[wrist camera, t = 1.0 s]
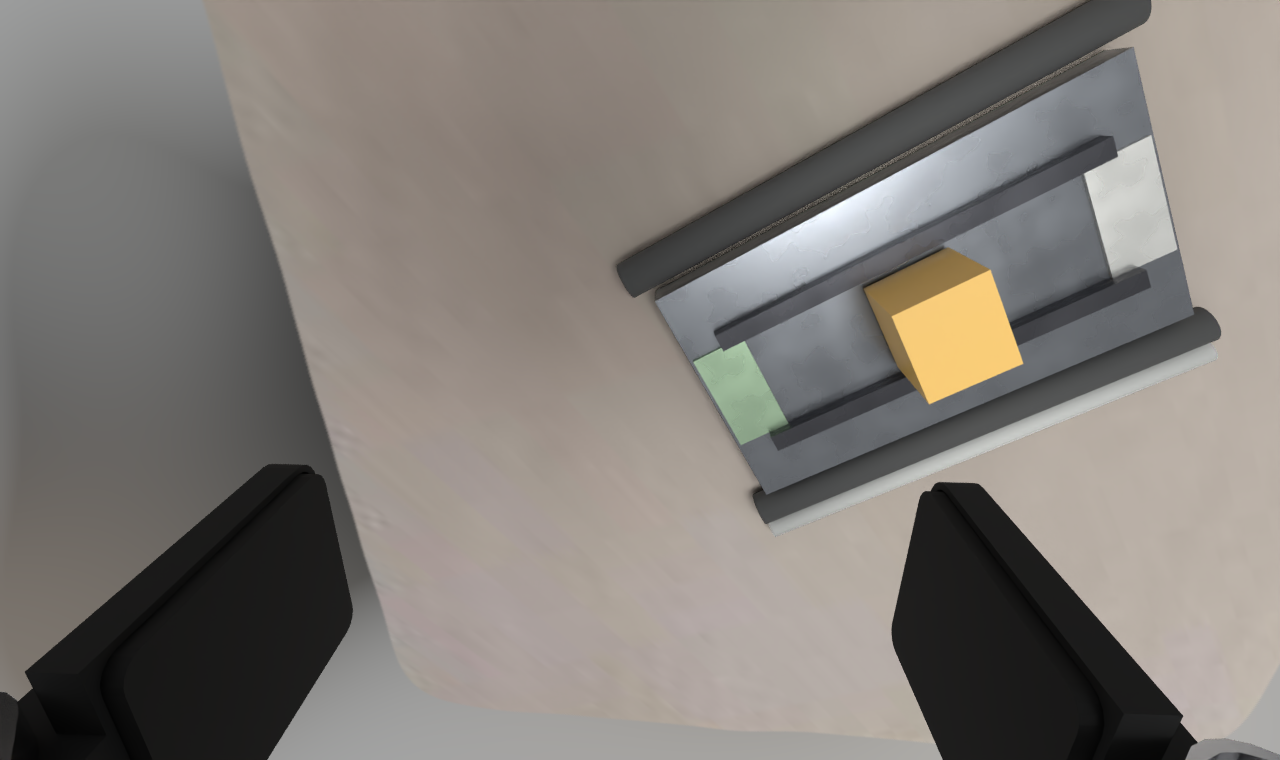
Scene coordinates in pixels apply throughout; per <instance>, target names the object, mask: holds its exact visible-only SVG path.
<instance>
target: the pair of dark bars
mask: <svg viewBox="0 0 1280 760" xmlns="http://www.w3.org/2000/svg"><path fill="white" fill-rule="evenodd" d="M1150 13H1151V0H1091V1H1089V2H1087V3H1085V4H1084V5H1082V6H1080V7H1078V8H1077V9H1075V10H1073V11H1071V12H1069V13H1068V14H1066V15H1064V16H1062V17H1060V18H1059V19H1057V20H1055V21H1053V22H1051V23H1050V24H1048V25H1046V26H1044V27H1042V28H1041V29H1039V30H1037V31H1035V32H1034V33H1032V34H1030V35H1028V36H1026V37H1025V38H1023V39H1021V40H1019V41H1017V42H1016V43H1014V44H1012V45H1010V46H1008V47H1007V48H1005V49H1003V50H1001V51H999V52H998V53H996V54H994V55H992V56H990V57H989V58H987V59H985V60H983V61H982V62H980V63H978V64H976V65H974V66H973V67H971V68H969V69H967V70H965V71H964V72H962V73H960V74H958V75H956V76H955V77H953V78H951V79H949V80H947V81H946V82H944V83H942V84H940V85H939V86H937V87H935V88H933V89H931V90H930V91H928V92H926V93H924V94H922V95H921V96H919V97H917V98H915V99H913V100H912V101H910V102H908V103H906V104H904V105H903V106H901V107H899V108H897V109H896V110H894V111H892V112H890V113H888V114H887V115H885V116H883V117H881V118H879V119H878V120H876V121H874V122H872V123H870V124H869V125H867V126H865V127H863V128H861V129H860V130H858V131H856V132H854V133H852V134H851V135H849V136H847V137H845V138H844V139H842V140H840V141H838V142H836V143H835V144H833V145H831V146H829V147H827V148H826V149H824V150H822V151H820V152H818V153H817V154H815V155H813V156H811V157H809V158H808V159H806V160H804V161H802V162H801V163H799V164H797V165H795V166H793V167H792V168H790V169H788V170H786V171H784V172H783V173H781V174H779V175H777V176H775V177H774V178H772V179H770V180H768V181H766V182H765V183H763V184H761V185H759V186H757V187H756V188H754V189H752V190H750V191H749V192H747V193H745V194H743V195H741V196H740V197H738V198H736V199H734V200H732V201H731V202H729V203H727V204H725V205H723V206H722V207H720V208H718V209H716V210H714V211H713V212H711V213H709V214H707V215H706V216H704V217H702V218H700V219H698V220H697V221H695V222H693V223H691V224H689V225H688V226H686V227H684V228H682V229H680V230H679V231H677V232H675V233H673V234H671V235H670V236H668V237H666V238H664V239H663V240H661V241H659V242H657V243H655V244H654V245H652V246H650V247H648V248H646V249H645V250H643V251H641V252H639V253H637V254H636V255H634V256H632V257H630V258H628V259H627V260H625V261H623V262H621V263H619V264H618V265H617V271H618V274H619V276H620V278H621V281H622V282H623V284H624V286H625V288H626V289H627V291H628V292H629V294H630V295H631V296H632V297H634V298H635V297H637V296H638V295H640V294H642V293H644V292H646V291H648V290H650V289H651V288H653V287H655V286H657V285H659V284H661V283H663V282H664V281H666V280H668V279H670V278H672V277H674V276H676V275H678V274H679V273H681V272H683V271H685V270H687V269H689V268H691V267H692V266H694V265H696V264H698V263H700V262H702V261H704V260H705V259H707V258H709V257H711V256H713V255H715V254H717V253H718V252H720V251H722V250H724V249H726V248H728V247H730V246H731V245H733V244H735V243H737V242H739V241H741V240H743V239H744V238H746V237H748V236H750V235H752V234H754V233H756V232H757V231H759V230H761V229H763V228H765V227H767V226H769V225H770V224H772V223H774V222H776V221H778V220H780V219H782V218H783V217H785V216H787V215H789V214H791V213H793V212H795V211H796V210H798V209H800V208H802V207H804V206H806V205H808V204H809V203H811V202H813V201H815V200H817V199H819V198H821V197H822V196H824V195H826V194H828V193H830V192H832V191H834V190H835V189H837V188H839V187H841V186H843V185H845V184H847V183H848V182H850V181H852V180H854V179H856V178H858V177H860V176H861V175H863V174H865V173H867V172H869V171H871V170H873V169H874V168H876V167H878V166H880V165H882V164H884V163H886V162H887V161H889V160H891V159H893V158H895V157H897V156H899V155H900V154H902V153H904V152H906V151H908V150H910V149H912V148H913V147H915V146H917V145H919V144H921V143H923V142H925V141H926V140H928V139H930V138H932V137H934V136H936V135H938V134H939V133H941V132H943V131H945V130H947V129H949V128H951V127H952V126H954V125H956V124H958V123H960V122H962V121H964V120H965V119H967V118H969V117H971V116H973V115H975V114H977V113H978V112H980V111H982V110H984V109H986V108H988V107H990V106H991V105H993V104H995V103H997V102H999V101H1001V100H1003V99H1004V98H1006V97H1008V96H1010V95H1012V94H1014V93H1016V92H1017V91H1019V90H1021V89H1023V88H1025V87H1027V86H1029V85H1030V84H1032V83H1034V82H1036V81H1038V80H1040V79H1042V78H1043V77H1045V76H1047V75H1049V74H1051V73H1053V72H1055V71H1056V70H1058V69H1060V68H1062V67H1064V66H1066V65H1068V64H1069V63H1071V62H1073V61H1075V60H1077V59H1079V58H1081V57H1082V56H1084V55H1086V54H1088V53H1090V52H1092V51H1094V50H1095V49H1097V48H1099V47H1101V46H1103V45H1105V44H1107V43H1108V42H1110V41H1112V40H1114V39H1116V38H1118V37H1120V36H1122V35H1123V34H1125V33H1127V32H1129V31H1131V30H1133V29H1135V28H1136V27H1138V26H1140V25H1142V24H1144V23H1145V22H1146V21H1147V20H1148V18H1149V16H1150ZM1193 311H1194V315H1192V316H1190V317H1187V318H1185V319H1182V320H1180V321H1178V322H1175V323H1173V324H1171V325H1168V326H1166V327H1163V328H1161V329H1159V330H1156V331H1154V332H1152V333H1149V334H1147V335H1144V336H1142V337H1140V338H1137V339H1135V340H1133V341H1130V342H1128V343H1125V344H1123V345H1121V346H1118V347H1116V348H1114V349H1111V350H1109V351H1106V352H1104V353H1102V354H1099V355H1097V356H1095V357H1092V358H1090V359H1088V360H1085V361H1083V362H1080V363H1078V364H1076V365H1073V366H1071V367H1069V368H1066V369H1064V370H1061V371H1059V372H1057V373H1054V374H1052V375H1050V376H1047V377H1045V378H1042V379H1040V380H1038V381H1035V382H1033V383H1031V384H1028V385H1026V386H1023V387H1021V388H1019V389H1016V390H1014V391H1012V392H1009V393H1007V394H1004V395H1002V396H1000V397H997V398H995V399H993V400H990V401H988V402H985V403H983V404H981V405H978V406H976V407H974V408H971V409H969V410H966V411H964V412H962V413H959V414H957V415H955V416H952V417H950V418H948V419H945V420H943V421H940V422H938V423H936V424H933V425H931V426H929V427H926V428H924V429H921V430H919V431H917V432H914V433H912V434H910V435H907V436H905V437H902V438H900V439H898V440H895V441H893V442H891V443H888V444H886V445H883V446H881V447H879V448H876V449H874V450H872V451H869V452H867V453H864V454H862V455H860V456H857V457H855V458H853V459H850V460H848V461H845V462H843V463H841V464H838V465H836V466H834V467H831V468H829V469H826V470H824V471H822V472H819V473H817V474H815V475H812V476H810V477H807V478H805V479H803V480H800V481H798V482H796V483H793V484H791V485H789V486H786V487H784V488H781V489H779V490H777V491H774V492H772V493H770V494H767V495H766V493H765V491H764V490H762V491H760V492H758V493H755V494H753V499H754V502H755V505H756V508H757V510H758V512H759V514H760V516H761V518H762V520H763V521H764V523H765V524H768V525H769V527H770V529H771V531H772V533H773V535H774V536H775V537H776V536H779V535H781V534H784V533H786V532H789V531H791V530H794V529H796V528H799V527H801V526H804V525H806V524H809V523H811V522H814V521H816V520H819V519H821V518H824V517H826V516H829V515H831V514H834V513H836V512H838V511H841V510H843V509H846V508H848V507H851V506H853V505H856V504H858V503H861V502H863V501H866V500H868V499H871V498H873V497H876V496H878V495H881V494H883V493H886V492H888V491H891V490H893V489H896V488H898V487H901V486H903V485H906V484H908V483H911V482H913V481H916V480H918V479H921V478H923V477H926V476H928V475H931V474H933V473H936V472H938V471H941V470H943V469H946V468H948V467H951V466H953V465H956V464H958V463H961V462H963V461H966V460H968V459H970V458H973V457H975V456H978V455H980V454H983V453H985V452H988V451H990V450H993V449H995V448H998V447H1000V446H1003V445H1005V444H1008V443H1010V442H1013V441H1015V440H1018V439H1020V438H1023V437H1025V436H1028V435H1030V434H1033V433H1035V432H1038V431H1040V430H1043V429H1045V428H1048V427H1050V426H1053V425H1055V424H1058V423H1060V422H1063V421H1065V420H1068V419H1070V418H1073V417H1075V416H1078V415H1080V414H1083V413H1085V412H1088V411H1090V410H1093V409H1095V408H1098V407H1100V406H1102V405H1105V404H1107V403H1110V402H1112V401H1115V400H1117V399H1120V398H1122V397H1125V396H1127V395H1130V394H1132V393H1135V392H1137V391H1140V390H1142V389H1145V388H1147V387H1150V386H1152V385H1155V384H1157V383H1160V382H1162V381H1165V380H1167V379H1170V378H1172V377H1175V376H1177V375H1180V374H1182V373H1185V372H1187V371H1190V370H1192V369H1195V368H1197V367H1200V366H1202V365H1205V364H1207V363H1210V362H1212V361H1215V360H1216V359H1217V358H1218V354H1217V351H1216V349H1215V347H1214V346H1213V345H1212V343H1211V342H1213V341H1216V340H1218V339H1219V338H1220V336H1221V329H1220V326H1219V324H1218V322H1217V320H1216V319H1215V318H1214V316H1213V315H1212V314H1211V313H1210V312H1208V311H1207V310H1205V309H1204V308H1201V307H1194V308H1193Z"/></svg>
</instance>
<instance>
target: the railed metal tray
mask: <svg viewBox="0 0 1280 760" xmlns="http://www.w3.org/2000/svg"><path fill="white" fill-rule="evenodd" d="M947 247H949V248H951V249H953V250H955V251H956V252H958V253H960V254H962V255H964V256H966V257H968V258H970V259H971V260H973V261H975V262H977V263H979V264H981V265H983V266H985V267H986V268H988V269H990V270H991V273H992V275H993V278H994V281H995V284H996V287H997V290H998V293H999V295H1000V298H1001V301H1002V304H1003V307H1004V310H1005V312H1006V315H1007V318H1008V321H1009V324H1010V327H1011V330H1012V332H1013V335H1014V338H1015V341H1016V344H1017V347H1018V350H1019V352H1020V355H1021V358H1022V361H1023V364H1022V365H1019V366H1017V367H1015V368H1012V369H1010V370H1008V371H1005V372H1003V373H1001V374H998V375H996V376H994V377H991V378H989V379H987V380H984V381H982V382H980V383H977V384H975V385H973V386H970V387H968V388H966V389H963V390H961V391H959V392H956V393H954V394H952V395H950V396H947V397H945V398H943V399H940V400H938V401H936V402H933V403H931V404H928V402H927V401H926V400H925V399H924V398H923V396H922V395H921V394H920V393H919V392H918V391H917V389H916V388H915V387H914V386H913V385H912V383H911V382H910V381H909V380H908V379H907V377H906V376H905V375H904V374H903V373H902V372H901V370H900V369H899V368H898V367H897V364H896V362H895V360H894V357H893V355H892V353H891V351H890V348H889V346H888V344H887V341H886V339H885V337H884V335H883V332H882V330H881V328H880V325H879V323H878V321H877V318H876V316H875V314H874V312H873V309H872V307H871V305H870V302H869V300H868V298H867V296H866V293H865V291H864V288H866V287H868V286H870V285H872V284H874V283H876V282H878V281H880V280H882V279H884V278H886V277H888V276H890V275H892V274H894V273H896V272H898V271H900V270H902V269H904V268H906V267H908V266H910V265H912V264H915V263H917V262H919V261H921V260H923V259H925V258H927V257H929V256H931V255H933V254H935V253H937V252H939V251H941V250H943V249H945V248H947ZM655 302H656V304H657V306H658V308H659V309H660V311H661V313H662V315H663V316H664V318H665V320H666V322H667V323H668V325H669V327H670V328H671V330H672V332H673V334H674V335H675V337H676V339H677V341H678V342H679V344H680V346H681V348H682V349H683V351H684V353H685V354H686V356H687V358H688V360H689V361H690V363H691V365H692V367H693V368H694V370H695V372H696V374H697V375H698V377H699V379H700V380H701V382H702V384H703V386H704V387H705V389H706V391H707V393H708V394H709V396H710V398H711V400H712V401H713V403H714V405H715V407H716V408H717V410H718V412H719V413H720V415H721V417H722V419H723V420H724V422H725V424H726V426H727V427H728V429H729V431H730V433H731V434H732V436H733V438H734V439H735V441H736V443H737V445H738V446H739V448H740V450H741V452H742V453H743V455H744V457H745V459H746V460H747V462H748V464H749V465H750V467H751V469H752V471H753V472H754V474H755V476H756V478H757V479H758V481H759V483H760V485H761V486H762V488H763V490H764V491H765V493H766V495H767V494H770V493H772V492H774V491H777V490H779V489H781V488H784V487H786V486H789V485H791V484H793V483H796V482H798V481H800V480H803V479H805V478H807V477H810V476H812V475H815V474H817V473H819V472H822V471H824V470H826V469H829V468H831V467H834V466H836V465H838V464H841V463H843V462H845V461H848V460H850V459H853V458H855V457H857V456H860V455H862V454H864V453H867V452H869V451H872V450H874V449H876V448H879V447H881V446H883V445H886V444H888V443H891V442H893V441H895V440H898V439H900V438H902V437H905V436H907V435H910V434H912V433H914V432H917V431H919V430H921V429H924V428H926V427H929V426H931V425H933V424H936V423H938V422H940V421H943V420H945V419H948V418H950V417H952V416H955V415H957V414H959V413H962V412H964V411H966V410H969V409H971V408H974V407H976V406H978V405H981V404H983V403H985V402H988V401H990V400H993V399H995V398H997V397H1000V396H1002V395H1004V394H1007V393H1009V392H1012V391H1014V390H1016V389H1019V388H1021V387H1023V386H1026V385H1028V384H1031V383H1033V382H1035V381H1038V380H1040V379H1042V378H1045V377H1047V376H1050V375H1052V374H1054V373H1057V372H1059V371H1061V370H1064V369H1066V368H1069V367H1071V366H1073V365H1076V364H1078V363H1080V362H1083V361H1085V360H1088V359H1090V358H1092V357H1095V356H1097V355H1099V354H1102V353H1104V352H1106V351H1109V350H1111V349H1114V348H1116V347H1118V346H1121V345H1123V344H1125V343H1128V342H1130V341H1133V340H1135V339H1137V338H1140V337H1142V336H1144V335H1147V334H1149V333H1152V332H1154V331H1156V330H1159V329H1161V328H1163V327H1166V326H1168V325H1171V324H1173V323H1175V322H1178V321H1180V320H1182V319H1185V318H1187V317H1190V316H1192V315H1194V311H1193V307H1192V303H1191V298H1190V294H1189V289H1188V285H1187V280H1186V276H1185V272H1184V267H1183V263H1182V258H1181V254H1180V250H1179V245H1178V241H1177V236H1176V232H1175V228H1174V223H1173V219H1172V214H1171V210H1170V206H1169V201H1168V197H1167V192H1166V188H1165V184H1164V179H1163V175H1162V170H1161V166H1160V162H1159V157H1158V153H1157V148H1156V144H1155V140H1154V135H1153V131H1152V126H1151V122H1150V118H1149V113H1148V109H1147V104H1146V100H1145V96H1144V91H1143V87H1142V82H1141V78H1140V73H1139V69H1138V65H1137V60H1136V56H1135V51H1134V47H1130V48H1121V49H1112V50H1104V51H1102V52H1101V53H1099V54H1097V55H1095V56H1093V57H1091V58H1089V59H1087V60H1086V61H1084V62H1082V63H1080V64H1078V65H1076V66H1074V67H1073V68H1071V69H1069V70H1067V71H1065V72H1063V73H1061V74H1059V75H1058V76H1056V77H1054V78H1052V79H1050V80H1048V81H1046V82H1045V83H1043V84H1041V85H1039V86H1037V87H1035V88H1033V89H1032V90H1030V91H1028V92H1026V93H1024V94H1022V95H1020V96H1018V97H1017V98H1015V99H1013V100H1011V101H1009V102H1007V103H1005V104H1004V105H1002V106H1000V107H998V108H996V109H994V110H992V111H990V112H989V113H987V114H985V115H983V116H981V117H979V118H977V119H976V120H974V121H972V122H970V123H968V124H966V125H964V126H963V127H961V128H959V129H957V130H955V131H953V132H951V133H949V134H948V135H946V136H944V137H942V138H940V139H938V140H936V141H935V142H933V143H931V144H929V145H927V146H925V147H923V148H921V149H920V150H918V151H916V152H914V153H912V154H910V155H908V156H907V157H905V158H903V159H901V160H899V161H897V162H895V163H893V164H892V165H890V166H888V167H886V168H884V169H882V170H880V171H879V172H877V173H875V174H873V175H871V176H869V177H867V178H866V179H864V180H862V181H860V182H858V183H856V184H854V185H852V186H851V187H849V188H847V189H845V190H843V191H841V192H839V193H838V194H836V195H834V196H832V197H830V198H828V199H826V200H824V201H823V202H821V203H819V204H817V205H815V206H813V207H811V208H810V209H808V210H806V211H804V212H802V213H800V214H798V215H796V216H795V217H793V218H791V219H789V220H787V221H785V222H783V223H782V224H780V225H778V226H776V227H774V228H772V229H770V230H769V231H767V232H765V233H763V234H761V235H759V236H757V237H755V238H754V239H752V240H750V241H748V242H746V243H744V244H742V245H741V246H739V247H737V248H735V249H733V250H731V251H729V252H727V253H726V254H724V255H722V256H720V257H718V258H716V259H714V260H713V261H711V262H709V263H707V264H705V265H703V266H701V267H700V268H698V269H696V270H694V271H692V272H690V273H688V274H686V275H685V276H683V277H681V278H679V279H677V280H675V281H673V282H672V283H670V284H668V285H666V286H664V287H662V288H660V289H658V290H657V291H656V295H655Z"/></svg>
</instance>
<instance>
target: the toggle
mask: <svg viewBox="0 0 1280 760" xmlns="http://www.w3.org/2000/svg"><path fill="white" fill-rule="evenodd" d="M864 291H865V293H866V296H867V298H868V300H869V302H870V305H871V307H872V309H873V312H874V314H875V316H876V318H877V321H878V323H879V325H880V328H881V330H882V332H883V335H884V337H885V339H886V341H887V344H888V346H889V348H890V351H891V353H892V355H893V357H894V360H895V362H896V364H897V367H898V368H899V369H900V370H901V372H902V373H903V374H904V375H905V376H906V377H907V379H908V380H909V381H910V382H911V383H912V385H913V386H914V387H915V388H916V389H917V391H918V392H919V393H920V394H921V395H922V396H923V398H924V399H925V400H926V401H927V402H928V404H931V403H933V402H936V401H938V400H940V399H943V398H945V397H947V396H950V395H952V394H954V393H956V392H959V391H961V390H963V389H966V388H968V387H970V386H973V385H975V384H977V383H980V382H982V381H984V380H987V379H989V378H991V377H994V376H996V375H998V374H1001V373H1003V372H1005V371H1008V370H1010V369H1012V368H1015V367H1017V366H1019V365H1022V364H1023V361H1022V358H1021V355H1020V352H1019V350H1018V347H1017V344H1016V341H1015V338H1014V335H1013V332H1012V330H1011V327H1010V324H1009V321H1008V318H1007V315H1006V312H1005V310H1004V307H1003V304H1002V301H1001V298H1000V295H999V293H998V290H997V287H996V284H995V281H994V278H993V275H992V273H991V270H990V269H988V268H986V267H985V266H983V265H981V264H979V263H977V262H975V261H973V260H971V259H970V258H968V257H966V256H964V255H962V254H960V253H958V252H956V251H955V250H953V249H951V248H949V247H947V248H945V249H943V250H941V251H939V252H937V253H935V254H933V255H931V256H929V257H927V258H925V259H923V260H921V261H919V262H917V263H915V264H912V265H910V266H908V267H906V268H904V269H902V270H900V271H898V272H896V273H894V274H892V275H890V276H888V277H886V278H884V279H882V280H880V281H878V282H876V283H874V284H872V285H870V286H868V287H866V288H864Z"/></svg>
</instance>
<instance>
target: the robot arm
mask: <svg viewBox="0 0 1280 760" xmlns="http://www.w3.org/2000/svg"><path fill="white" fill-rule="evenodd" d="M352 613H353V608H352V602H351V597H350V593H349V588H348V584H347V579H346V574H345V570H344V566H343V561H342V556H341V552H340V548H339V543H338V538H337V533H336V529H335V525H334V520H333V515H332V511H331V506H330V502H329V497H328V493H327V488H326V483H325V481H324V479H323V478H322V476H321V475H318V474H315V472H314V470H313V469H312V468H311V467H309V466H308V465H291V464H290V465H289V464H269V465H267V466H265V467H263V468H262V469H261V470H260V471H259V472H258V473H256V474H255V475H254V476H253V477H252V478H250V479H249V480H248V481H247V482H246V483H245V484H243V485H242V486H241V487H240V488H239V489H238V490H236V491H235V492H234V493H233V494H232V495H231V496H229V497H228V498H227V499H226V500H225V501H224V502H222V503H221V504H220V505H219V506H218V507H217V508H215V509H214V510H213V511H212V512H211V513H210V514H208V515H207V516H206V517H205V518H204V519H203V520H201V521H200V522H199V523H198V524H197V525H196V526H194V527H193V528H192V529H191V530H190V531H189V532H187V533H186V534H185V535H184V536H183V537H182V538H181V539H179V540H178V541H177V542H176V543H175V544H173V545H172V546H171V547H170V548H169V549H168V550H166V551H165V552H164V553H163V554H162V555H161V556H159V557H158V558H157V559H156V560H155V561H154V562H153V563H151V564H150V565H149V566H148V567H147V568H145V569H144V570H143V571H142V572H141V573H140V574H138V575H137V576H136V577H135V578H134V579H133V580H131V581H130V582H129V583H128V584H127V585H126V586H124V587H123V588H122V589H121V590H120V591H119V592H117V593H116V594H115V595H114V596H113V597H112V598H110V599H109V600H108V601H107V602H106V603H105V604H103V605H102V606H101V607H100V608H99V609H98V610H96V611H95V612H94V613H93V614H92V615H91V616H89V617H88V618H87V619H86V620H85V621H84V622H82V623H81V624H80V625H79V626H78V627H77V628H75V629H74V630H73V631H72V632H71V633H70V634H68V635H67V636H66V637H65V638H64V639H63V640H61V641H60V642H59V643H58V644H57V645H56V646H54V647H53V648H52V649H51V650H50V651H49V652H47V653H46V654H45V655H44V656H43V657H42V658H40V659H39V660H38V661H37V662H36V663H35V664H33V665H32V666H31V667H30V668H29V669H28V670H26V671H25V673H26V675H27V677H28V679H29V681H30V683H31V685H32V687H33V689H32V690H30V691H29V692H28V693H27V694H26V695H25V696H24V697H23V698H21V699H20V700H19V701H18V702H17V700H16V699H15V698H13V697H12V696H10V695H9V694H8V693H6V692H0V760H267V759H268V758H269V756H270V754H271V753H272V751H273V749H274V748H275V746H276V745H277V743H278V742H279V740H280V738H281V737H282V735H283V733H284V732H285V730H286V729H287V727H288V725H289V724H290V722H291V721H292V719H293V718H294V716H295V714H296V713H297V711H298V710H299V708H300V706H301V705H302V703H303V701H304V700H305V698H306V697H307V695H308V694H309V692H310V690H311V689H312V687H313V685H314V684H315V682H316V681H317V679H318V677H319V676H320V674H321V673H322V671H323V670H324V668H325V666H326V665H327V663H328V662H329V660H330V658H331V657H332V655H333V653H334V652H335V650H336V649H337V647H338V645H339V644H340V642H341V641H342V639H343V637H344V636H345V634H346V633H347V631H348V628H349V627H350V624H351V620H352ZM892 641H893V646H894V649H895V652H896V654H897V656H898V659H899V661H900V663H901V665H902V668H903V670H904V672H905V675H906V677H907V679H908V681H909V684H910V686H911V688H912V690H913V693H914V695H915V697H916V700H917V702H918V704H919V706H920V709H921V711H922V713H923V716H924V718H925V720H926V722H927V725H928V727H929V729H930V731H931V734H932V736H933V738H934V741H935V743H936V745H937V747H938V750H939V752H940V754H941V756H942V759H943V760H1280V755H1279V754H1276V753H1273V752H1271V751H1268V750H1266V749H1263V748H1261V747H1258V746H1255V745H1252V744H1249V743H1244V742H1239V741H1235V740H1230V739H1205V740H1203V741H1201V742H1199V743H1198V742H1197V741H1196V740H1195V739H1194V738H1193V737H1192V736H1191V734H1190V733H1189V732H1188V731H1187V730H1186V729H1185V727H1184V726H1183V725H1182V724H1181V723H1180V721H1181V719H1182V717H1183V715H1182V714H1181V713H1180V712H1179V711H1178V709H1177V708H1176V707H1175V706H1174V705H1173V704H1172V703H1171V701H1170V700H1169V699H1168V698H1167V697H1166V696H1165V695H1164V694H1163V692H1162V691H1161V690H1160V689H1159V688H1158V687H1157V686H1156V684H1155V683H1154V682H1153V681H1152V680H1151V679H1150V678H1149V676H1148V675H1147V674H1146V673H1145V672H1144V671H1143V670H1142V668H1141V667H1140V666H1139V665H1138V664H1137V663H1136V662H1135V660H1134V659H1133V658H1132V657H1131V656H1130V655H1129V654H1128V652H1127V651H1126V650H1125V649H1124V648H1123V647H1122V646H1121V644H1120V643H1119V642H1118V641H1117V640H1116V639H1115V638H1114V637H1113V635H1112V634H1111V633H1110V632H1109V631H1108V630H1107V629H1106V627H1105V626H1104V625H1103V624H1102V623H1101V622H1100V621H1099V619H1098V618H1097V617H1096V616H1095V615H1094V614H1093V613H1092V611H1091V610H1090V609H1089V608H1088V607H1087V606H1086V605H1085V603H1084V602H1083V601H1082V600H1081V599H1080V598H1079V597H1078V595H1077V594H1076V593H1075V592H1074V591H1073V590H1072V589H1071V588H1070V586H1069V585H1068V584H1067V583H1066V582H1065V581H1064V580H1063V578H1062V577H1061V576H1060V575H1059V574H1058V573H1057V572H1056V570H1055V569H1054V568H1053V567H1052V566H1051V565H1050V564H1049V562H1048V561H1047V560H1046V559H1045V558H1044V557H1043V556H1042V554H1041V553H1040V552H1039V551H1038V550H1037V549H1036V548H1035V546H1034V545H1033V544H1032V543H1031V542H1030V541H1029V540H1028V539H1027V537H1026V536H1025V535H1024V534H1023V533H1022V532H1021V531H1020V529H1019V528H1018V527H1017V526H1016V525H1015V524H1014V523H1013V521H1012V520H1011V519H1010V518H1009V517H1008V516H1007V515H1006V513H1005V512H1004V511H1003V510H1002V509H1001V508H1000V507H999V505H998V504H997V503H996V502H995V501H994V500H993V499H992V497H991V496H990V495H989V494H988V493H987V492H986V491H985V490H984V488H983V487H981V486H980V485H979V484H976V483H950V482H938V483H936V484H935V485H934V486H933V488H932V490H931V491H925V492H923V493H922V495H921V496H920V499H919V503H918V508H917V512H916V517H915V522H914V526H913V531H912V535H911V540H910V545H909V549H908V554H907V558H906V563H905V567H904V572H903V577H902V581H901V586H900V590H899V595H898V599H897V604H896V609H895V613H894V618H893V622H892Z"/></svg>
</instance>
